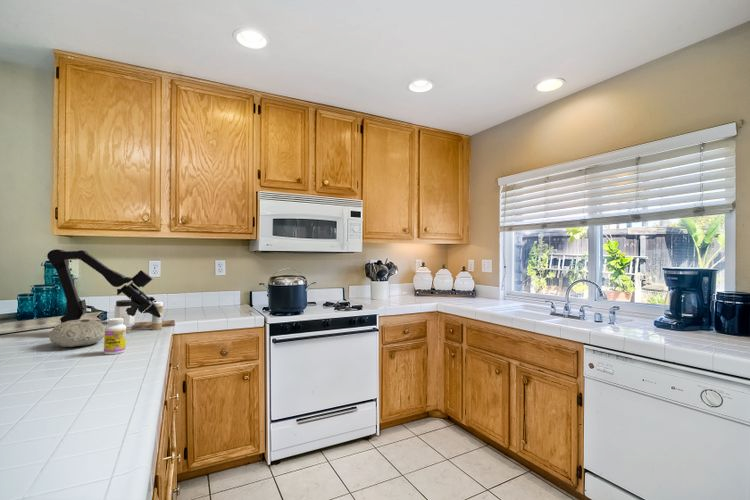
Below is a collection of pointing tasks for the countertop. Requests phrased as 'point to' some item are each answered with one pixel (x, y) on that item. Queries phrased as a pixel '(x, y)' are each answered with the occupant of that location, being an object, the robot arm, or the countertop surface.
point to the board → (149, 324)
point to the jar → (124, 311)
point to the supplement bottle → (115, 337)
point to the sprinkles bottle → (155, 320)
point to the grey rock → (77, 333)
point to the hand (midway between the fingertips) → (160, 315)
